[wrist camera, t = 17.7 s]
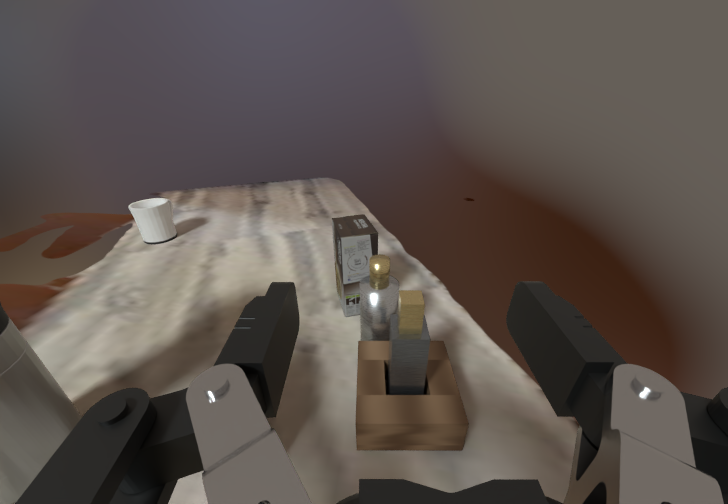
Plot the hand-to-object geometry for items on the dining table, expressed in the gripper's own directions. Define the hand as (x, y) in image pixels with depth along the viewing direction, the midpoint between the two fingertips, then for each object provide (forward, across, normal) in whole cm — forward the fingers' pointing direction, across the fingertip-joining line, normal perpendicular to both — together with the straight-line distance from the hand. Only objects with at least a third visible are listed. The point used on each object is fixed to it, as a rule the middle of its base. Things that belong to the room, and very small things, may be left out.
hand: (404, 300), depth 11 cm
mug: (+68, -59, -32) cm, 96 cm away
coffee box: (+38, -3, -31) cm, 49 cm away
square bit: (+16, +4, -29) cm, 33 cm away
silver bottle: (+26, +1, -30) cm, 40 cm away
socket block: (+16, +4, -30) cm, 34 cm away
